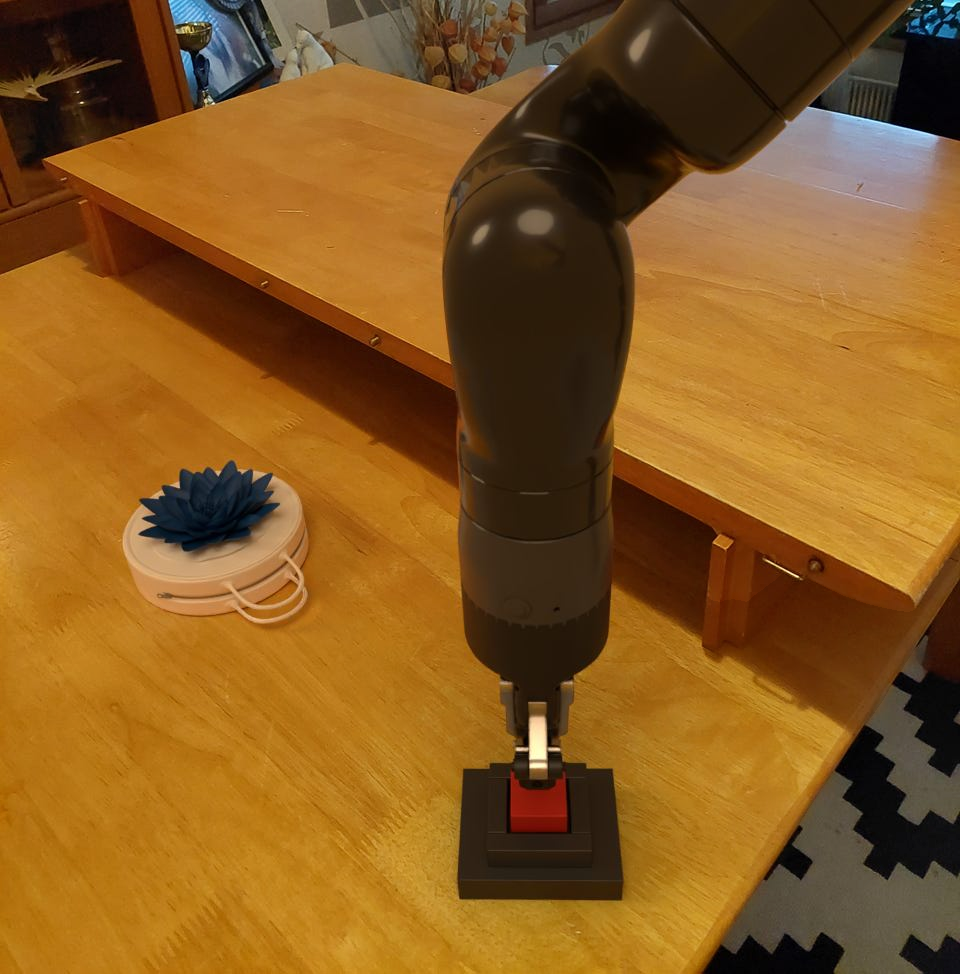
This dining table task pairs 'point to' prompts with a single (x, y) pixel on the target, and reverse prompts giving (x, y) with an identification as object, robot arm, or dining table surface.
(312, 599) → the dining table surface
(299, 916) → the dining table surface
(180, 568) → the lotus flower trinket box
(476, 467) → the robot arm
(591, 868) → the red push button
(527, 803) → the red button cap
